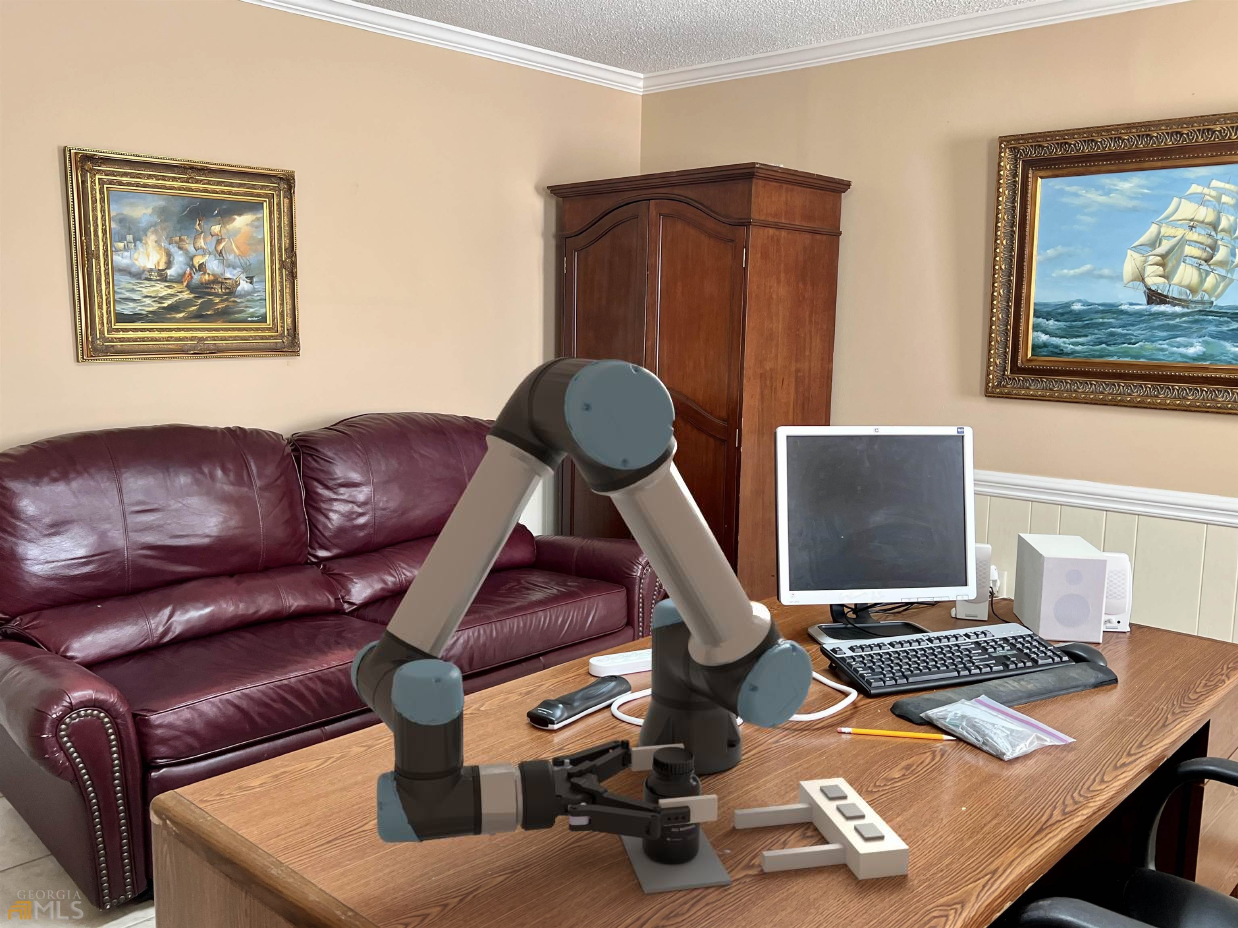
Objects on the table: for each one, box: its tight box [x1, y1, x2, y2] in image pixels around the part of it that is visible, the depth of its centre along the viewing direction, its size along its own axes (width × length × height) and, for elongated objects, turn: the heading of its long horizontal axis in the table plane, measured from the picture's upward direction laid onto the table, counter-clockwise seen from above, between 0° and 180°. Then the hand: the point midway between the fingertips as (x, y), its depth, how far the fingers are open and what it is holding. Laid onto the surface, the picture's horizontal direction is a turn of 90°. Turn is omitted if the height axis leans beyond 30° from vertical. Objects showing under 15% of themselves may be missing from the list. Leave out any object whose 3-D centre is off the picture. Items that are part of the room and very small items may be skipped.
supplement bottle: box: [642, 747, 703, 865], centre depth 117 cm, size 7×7×12 cm
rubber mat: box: [619, 826, 732, 895], centre depth 118 cm, size 14×10×1 cm
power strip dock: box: [733, 777, 910, 881], centre depth 121 cm, size 18×16×4 cm
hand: (699, 779), depth 117 cm, fingers open, 13 cm apart
